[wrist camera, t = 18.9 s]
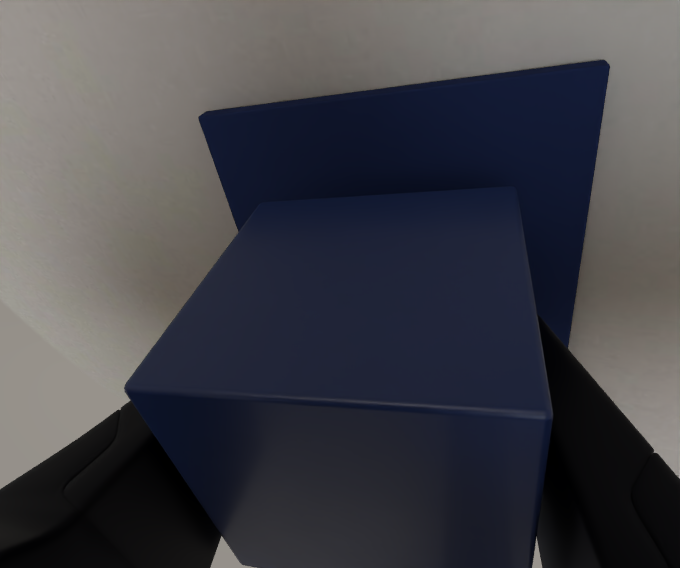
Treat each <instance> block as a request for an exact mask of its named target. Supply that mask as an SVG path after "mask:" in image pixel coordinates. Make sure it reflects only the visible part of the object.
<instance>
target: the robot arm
mask: <svg viewBox="0 0 680 568" xmlns="http://www.w3.org/2000/svg"><path fill="white" fill-rule="evenodd" d="M537 317H538V323H539V329H540V335H541V341H542V348H543V354H544V360H545V366H546V372H547V378H548V384H549V390H550V397H551V403H552V409H553V422H552V429H551V436H550V443H549V450H548V457H547V464H546V472H545V479H544V486H543V493H542V500H541V507H540V515H539V522H538V529H537V541H538V546H539V552H540V557H541V562H542V568H680V479H679V478H678V477H677V475H676V474H675V473H674V472H673V471H672V470H671V469H670V467H669V466H668V465H667V464H666V463H665V462H664V460H663V459H662V458H661V457H660V456H659V454H657V453H654V449H653V448H652V447H651V445H650V444H649V443H648V442H647V441H646V440H645V438H644V437H643V436H642V435H641V434H640V433H639V431H638V430H637V429H636V428H635V427H634V426H633V424H632V423H631V422H630V421H629V420H628V419H627V417H626V416H625V415H624V414H623V413H622V412H621V410H620V409H619V408H618V407H617V406H616V405H615V403H614V402H613V401H612V400H611V399H610V398H609V396H608V395H607V394H606V393H605V392H604V391H603V389H602V388H601V387H600V386H599V385H598V384H597V382H596V381H595V380H594V379H593V378H592V376H591V375H590V374H589V373H588V372H587V371H586V369H585V368H584V367H583V366H582V365H581V364H580V362H579V361H578V360H577V359H576V358H575V357H574V355H573V354H572V353H571V352H570V351H569V350H568V348H567V347H566V346H565V345H564V344H563V343H562V341H561V340H560V339H559V338H558V337H557V336H556V334H555V333H554V332H553V331H552V330H551V329H550V327H549V326H548V325H547V324H546V323H545V322H544V320H543V319H542V318H541V317H540V316H539V315H538V314H537ZM221 536H222V535H221V534H220V532H219V531H218V529H217V528H216V526H215V525H214V523H213V522H212V520H211V519H210V517H209V516H208V514H207V513H206V511H205V510H204V508H203V507H202V505H201V504H200V503H199V501H198V500H197V498H196V497H195V495H194V494H193V492H192V491H191V489H190V488H189V486H188V485H187V483H186V482H185V480H184V479H183V477H182V476H181V474H180V473H179V471H178V470H177V468H176V467H175V465H174V464H173V462H172V461H171V459H170V458H169V456H168V455H167V453H166V452H165V451H164V449H163V448H162V446H161V445H160V443H159V442H158V440H157V439H156V437H155V436H154V434H153V433H152V431H151V430H150V428H149V427H148V425H147V424H146V422H145V421H144V419H143V418H142V416H141V415H140V413H139V412H138V410H137V409H136V407H135V406H134V404H133V403H132V402H131V401H129V402H128V403H127V404H125V405H124V406H123V407H121V410H117V411H116V412H114V413H113V414H112V415H110V416H109V417H108V418H106V419H105V420H103V421H102V422H101V423H99V424H98V425H96V426H95V427H94V428H92V429H91V430H89V431H88V432H87V433H85V434H84V435H82V436H81V437H80V438H78V439H77V440H75V441H74V442H72V443H71V444H69V445H68V446H66V447H65V448H63V449H62V450H60V451H59V452H57V453H56V454H54V455H53V456H51V457H50V458H48V459H47V460H45V461H43V462H42V463H40V464H39V465H38V466H36V467H34V468H32V469H31V470H29V471H28V472H26V473H25V474H23V475H22V476H20V477H18V478H17V479H16V480H14V481H12V482H11V483H9V484H8V485H6V486H5V487H3V488H2V489H0V568H210V567H211V563H212V561H213V558H214V555H215V552H216V550H217V547H218V544H219V541H220V538H221Z"/></svg>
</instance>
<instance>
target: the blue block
mask: <svg viewBox="0 0 680 568" xmlns="http://www.w3.org/2000/svg"><path fill="white" fill-rule="evenodd" d="M124 389H125V393H126V394H127V396H128V397H129V399H130V400H131V402H132V403H133V404H134V406H135V407H136V409H137V410H138V412H139V413H140V415H141V416H142V418H143V419H144V421H145V422H146V424H147V425H148V427H149V428H150V430H151V431H152V433H153V434H154V436H155V437H156V439H157V440H158V442H159V443H160V445H161V446H162V448H163V449H164V451H165V452H166V453H167V455H168V456H169V458H170V459H171V461H172V462H173V464H174V465H175V467H176V468H177V470H178V471H179V473H180V474H181V476H182V477H183V479H184V480H185V482H186V483H187V485H188V486H189V488H190V489H191V491H192V492H193V494H194V495H195V497H196V498H197V500H198V501H199V503H200V504H201V505H202V507H203V508H204V510H205V511H206V513H207V514H208V516H209V517H210V519H211V520H212V522H213V523H214V525H215V526H216V528H217V529H218V531H219V532H220V534H221V535H222V537H223V538H224V540H225V541H226V542H227V544H228V546H229V547H230V549H231V550H232V552H233V553H234V554H235V556H236V557H237V559H238V560H239V562H240V563H241V564H242V565H246V566H252V567H257V568H532V564H533V557H534V550H535V543H536V536H537V529H538V522H539V515H540V507H541V500H542V493H543V486H544V479H545V472H546V464H547V457H548V450H549V443H550V436H551V429H552V422H553V409H552V403H551V397H550V390H549V384H548V378H547V372H546V366H545V360H544V354H543V348H542V341H541V335H540V329H539V323H538V317H537V311H536V305H535V299H534V292H533V286H532V280H531V274H530V268H529V262H528V256H527V250H526V243H525V237H524V231H523V225H522V219H521V213H520V207H519V201H518V194H517V190H516V188H515V187H512V186H508V187H493V188H477V189H462V190H446V191H431V192H415V193H400V194H385V195H369V196H354V197H338V198H323V199H307V200H292V201H277V202H263V203H260V204H259V205H258V207H257V208H256V209H255V211H254V212H253V213H252V215H251V216H250V217H249V219H248V220H247V221H246V223H245V224H244V225H243V227H242V228H241V229H240V231H239V232H238V233H237V235H236V236H235V237H234V239H233V240H232V242H231V243H230V244H229V246H228V247H227V248H226V250H225V251H224V252H223V254H222V255H221V256H220V258H219V259H218V260H217V262H216V263H215V264H214V266H213V267H212V268H211V270H210V271H209V272H208V274H207V275H206V276H205V278H204V279H203V280H202V282H201V283H200V285H199V286H198V287H197V289H196V290H195V291H194V293H193V294H192V295H191V297H190V298H189V299H188V301H187V302H186V303H185V305H184V306H183V307H182V309H181V310H180V311H179V313H178V314H177V315H176V317H175V318H174V319H173V321H172V322H171V323H170V325H169V326H168V327H167V329H166V330H165V332H164V333H163V334H162V336H161V337H160V338H159V340H158V341H157V342H156V344H155V345H154V346H153V348H152V349H151V350H150V352H149V353H148V354H147V356H146V357H145V358H144V360H143V361H142V362H141V364H140V365H139V366H138V368H137V369H136V370H135V372H134V373H133V375H132V376H131V377H130V379H129V380H128V381H127V383H126V384H125V387H124Z"/></svg>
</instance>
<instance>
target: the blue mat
mask: <svg viewBox="0 0 680 568" xmlns="http://www.w3.org/2000/svg"><path fill="white" fill-rule="evenodd" d="M609 69H610V66H609V64H608V63H607V62H606V61H605V60H598V61H590V62H582V63H575V64H567V65H559V66H552V67H544V68H536V69H529V70H521V71H513V72H506V73H498V74H490V75H483V76H475V77H467V78H460V79H452V80H444V81H437V82H429V83H421V84H414V85H406V86H398V87H390V88H383V89H375V90H367V91H360V92H352V93H344V94H337V95H329V96H321V97H314V98H306V99H298V100H291V101H283V102H275V103H268V104H260V105H252V106H245V107H237V108H229V109H222V110H214V111H206V112H205V113H203V114H202V115H201V116H199V121H200V124H201V127H202V130H203V133H204V136H205V138H206V141H207V144H208V147H209V150H210V153H211V155H212V158H213V161H214V164H215V167H216V170H217V172H218V175H219V178H220V181H221V184H222V186H223V189H224V192H225V195H226V198H227V201H228V203H229V206H230V209H231V212H232V215H233V218H234V220H235V223H236V226H237V229H238V232H239V231H240V229H241V228H242V227H243V225H244V224H245V223H246V221H247V220H248V219H249V217H250V216H251V215H252V213H253V212H254V211H255V209H256V208H257V207H258V205H259V204H260V203H263V202H277V201H292V200H307V199H323V198H338V197H354V196H369V195H385V194H400V193H415V192H431V191H446V190H462V189H477V188H493V187H508V186H512V187H515V188H516V190H517V194H518V201H519V207H520V213H521V219H522V225H523V231H524V237H525V243H526V250H527V256H528V262H529V268H530V274H531V280H532V286H533V292H534V299H535V305H536V311H537V314H538V315H539V316H540V317H541V318H542V319H543V320H544V322H545V323H546V324H547V325H548V326H549V327H550V329H551V330H552V331H553V332H554V333H555V334H556V336H557V337H558V338H559V339H560V340H561V341H562V343H563V344H564V345H565V346H566V347H567V348H568V344H569V337H570V331H571V324H572V317H573V310H574V304H575V297H576V290H577V284H578V277H579V270H580V264H581V257H582V250H583V243H584V237H585V230H586V223H587V217H588V210H589V203H590V196H591V190H592V183H593V176H594V170H595V163H596V156H597V149H598V143H599V136H600V129H601V123H602V116H603V109H604V103H605V96H606V89H607V82H608V76H609Z"/></svg>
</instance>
